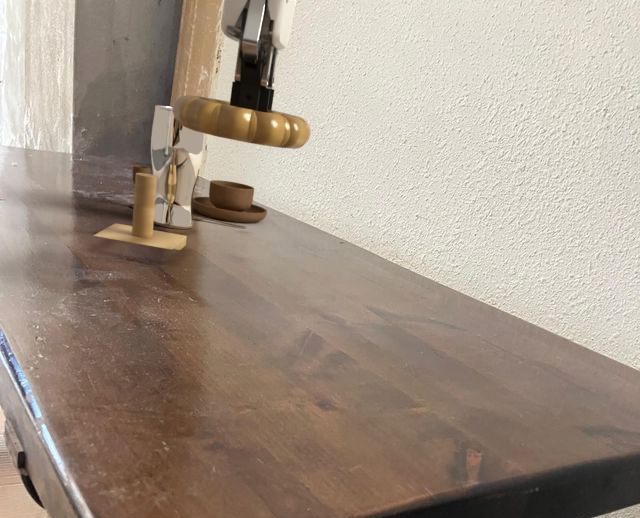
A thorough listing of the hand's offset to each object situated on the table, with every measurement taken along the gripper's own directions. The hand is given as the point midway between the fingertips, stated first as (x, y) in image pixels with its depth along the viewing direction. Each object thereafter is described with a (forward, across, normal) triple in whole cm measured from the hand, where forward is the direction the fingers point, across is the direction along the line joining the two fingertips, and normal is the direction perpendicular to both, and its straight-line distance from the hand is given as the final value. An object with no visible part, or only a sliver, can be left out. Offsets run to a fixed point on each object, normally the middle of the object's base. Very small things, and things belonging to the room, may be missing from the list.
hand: (247, 132), depth 66 cm
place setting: (+16, -51, -11) cm, 54 cm away
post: (+16, -19, -13) cm, 28 cm away
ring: (-1, +4, 0) cm, 4 cm away
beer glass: (+16, -36, -13) cm, 41 cm away
